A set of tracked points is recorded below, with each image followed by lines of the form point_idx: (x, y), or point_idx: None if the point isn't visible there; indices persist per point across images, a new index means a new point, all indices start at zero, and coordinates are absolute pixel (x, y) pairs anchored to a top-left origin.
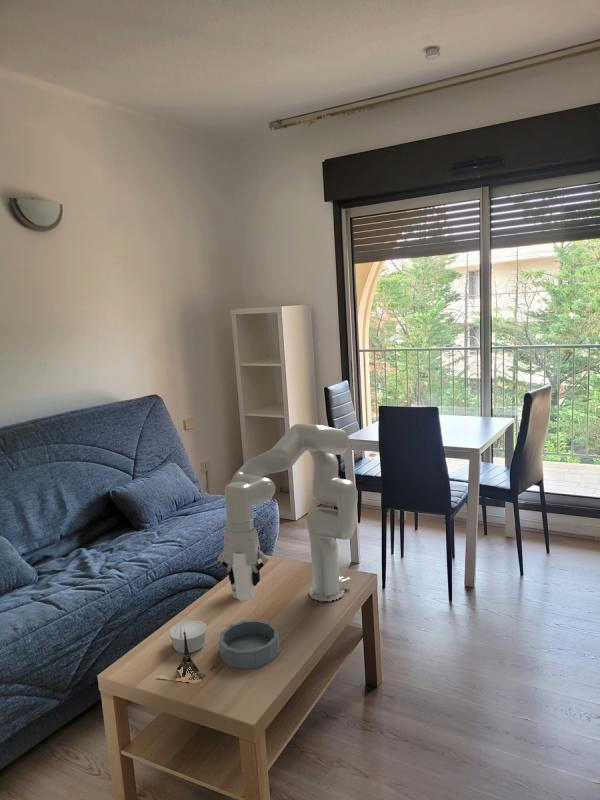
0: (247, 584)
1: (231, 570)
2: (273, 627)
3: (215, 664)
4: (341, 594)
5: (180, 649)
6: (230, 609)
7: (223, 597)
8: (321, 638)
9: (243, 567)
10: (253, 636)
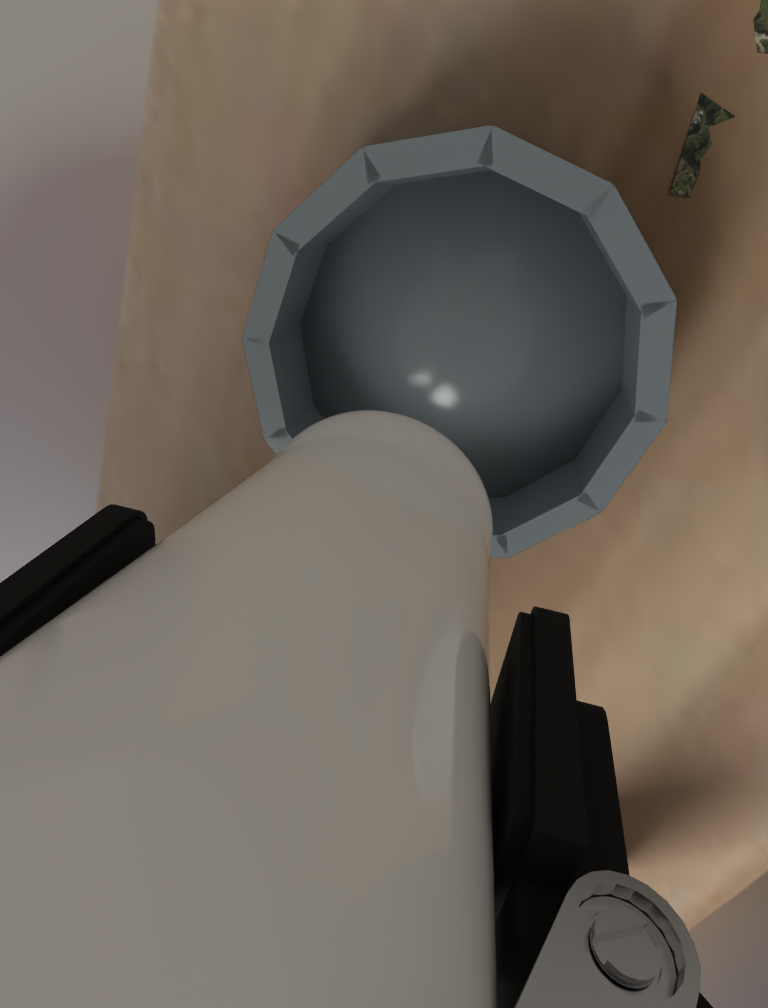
0: (210, 508)
1: (539, 895)
2: None
3: (683, 187)
4: None
5: None
6: (621, 745)
7: (669, 845)
8: (107, 449)
9: None
10: None
